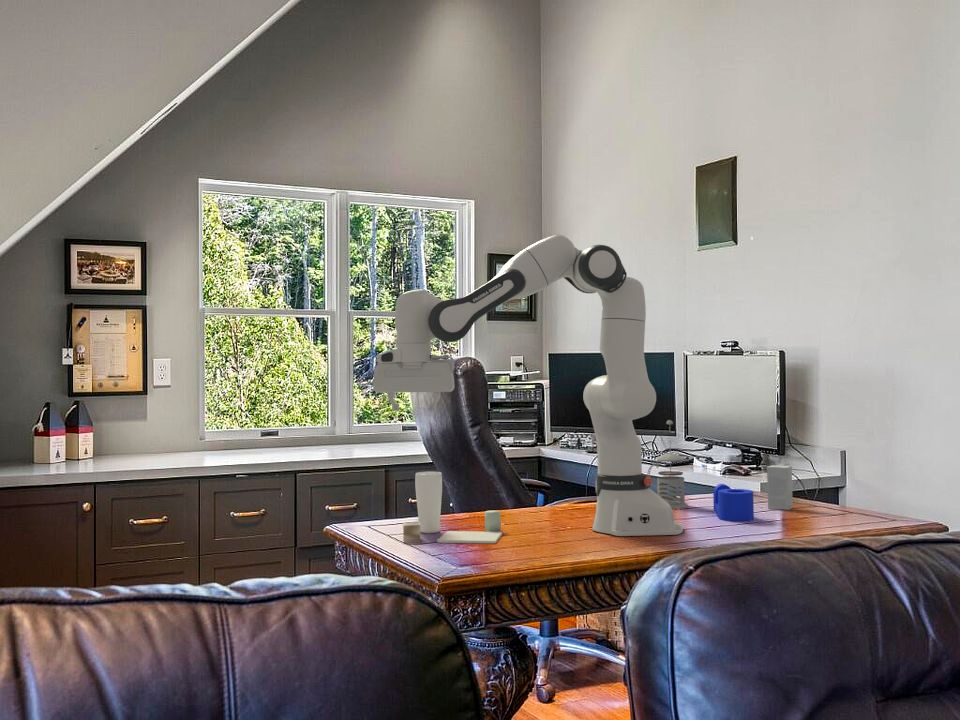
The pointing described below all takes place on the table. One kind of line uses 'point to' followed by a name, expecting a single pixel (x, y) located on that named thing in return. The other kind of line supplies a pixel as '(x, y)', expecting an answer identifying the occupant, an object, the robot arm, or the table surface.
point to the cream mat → (469, 537)
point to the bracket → (733, 504)
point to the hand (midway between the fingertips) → (414, 410)
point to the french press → (670, 480)
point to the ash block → (411, 532)
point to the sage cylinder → (492, 521)
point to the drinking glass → (429, 500)
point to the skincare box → (779, 487)
